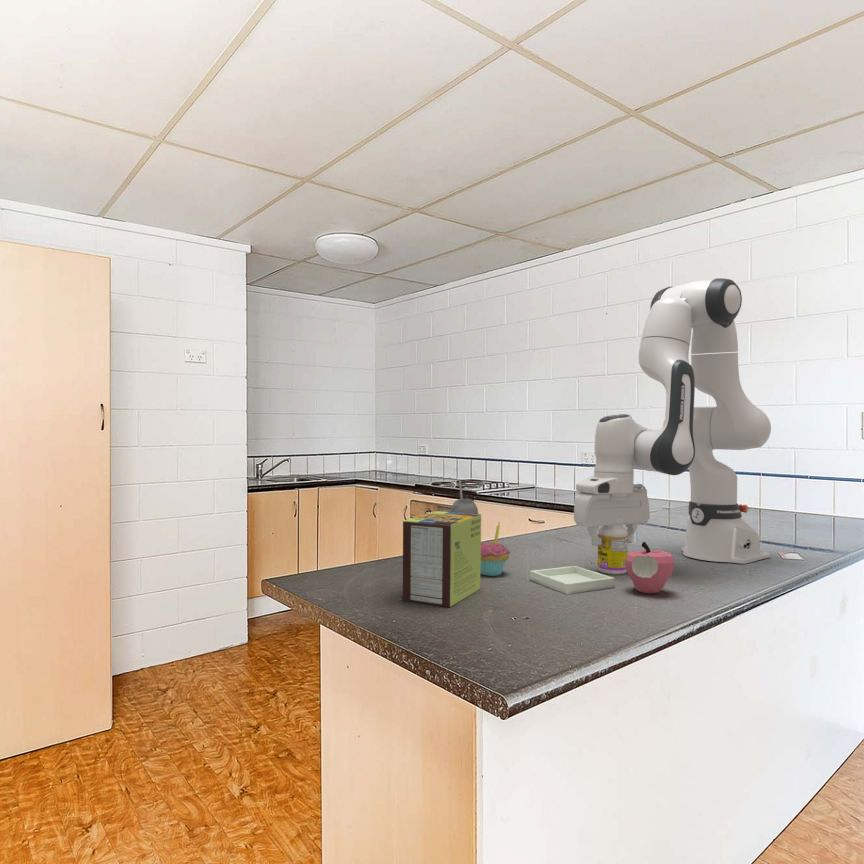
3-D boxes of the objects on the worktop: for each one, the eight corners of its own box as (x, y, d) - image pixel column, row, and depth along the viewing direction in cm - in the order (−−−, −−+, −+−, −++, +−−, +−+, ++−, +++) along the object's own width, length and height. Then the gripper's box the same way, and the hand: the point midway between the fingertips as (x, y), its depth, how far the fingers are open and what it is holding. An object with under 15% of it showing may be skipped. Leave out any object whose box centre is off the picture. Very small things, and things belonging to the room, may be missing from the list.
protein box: (481, 589, 131) (482, 513, 130) (450, 608, 117) (451, 524, 117) (435, 582, 135) (436, 510, 135) (400, 600, 121) (401, 519, 121)
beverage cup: (476, 564, 153) (477, 481, 152) (446, 563, 154) (447, 481, 154) (480, 558, 160) (481, 479, 159) (451, 557, 161) (452, 478, 161)
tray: (575, 574, 144) (575, 565, 144) (614, 587, 133) (614, 578, 133) (529, 580, 138) (529, 570, 138) (566, 594, 127) (566, 584, 127)
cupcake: (514, 571, 146) (514, 519, 146) (502, 579, 138) (502, 525, 138) (479, 567, 150) (479, 517, 149) (465, 575, 142) (466, 522, 142)
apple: (618, 592, 129) (619, 543, 128) (632, 584, 136) (632, 537, 136) (667, 600, 123) (668, 549, 123) (678, 591, 130) (679, 543, 130)
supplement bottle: (593, 568, 150) (594, 514, 150) (620, 568, 151) (621, 514, 151) (603, 575, 144) (604, 518, 143) (631, 575, 144) (632, 518, 144)
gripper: (636, 482, 154) (635, 539, 154) (570, 484, 145) (568, 544, 145) (656, 484, 149) (655, 543, 149) (588, 486, 139) (587, 549, 139)
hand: (612, 544), depth 147 cm, fingers open, 8 cm apart
